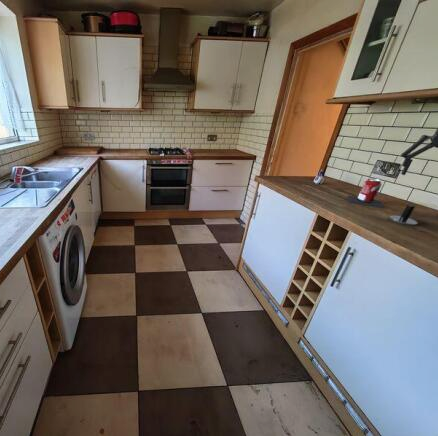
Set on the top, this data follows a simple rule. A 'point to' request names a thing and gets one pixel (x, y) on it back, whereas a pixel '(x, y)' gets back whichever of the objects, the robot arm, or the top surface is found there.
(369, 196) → the soda can
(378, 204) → the slate mat
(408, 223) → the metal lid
